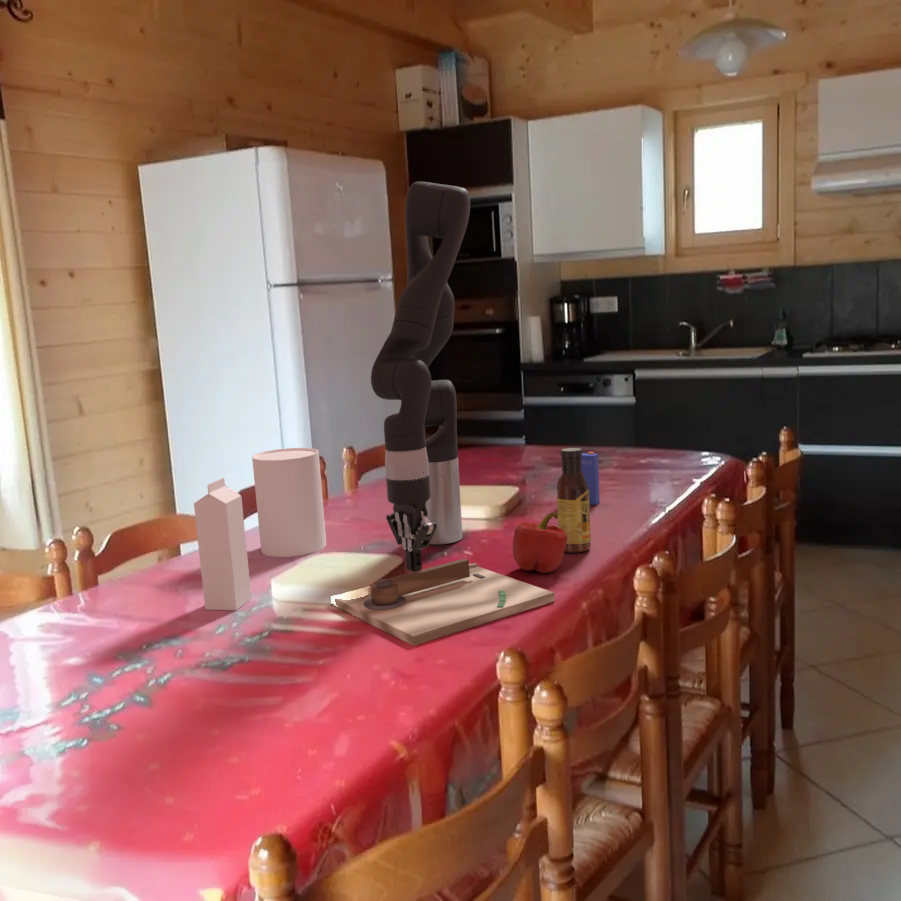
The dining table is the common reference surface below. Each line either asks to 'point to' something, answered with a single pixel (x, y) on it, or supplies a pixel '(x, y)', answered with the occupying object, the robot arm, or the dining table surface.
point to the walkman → (591, 475)
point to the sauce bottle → (573, 502)
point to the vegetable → (539, 545)
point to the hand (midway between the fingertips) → (414, 570)
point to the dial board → (449, 606)
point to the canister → (289, 501)
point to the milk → (222, 548)
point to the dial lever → (419, 581)
